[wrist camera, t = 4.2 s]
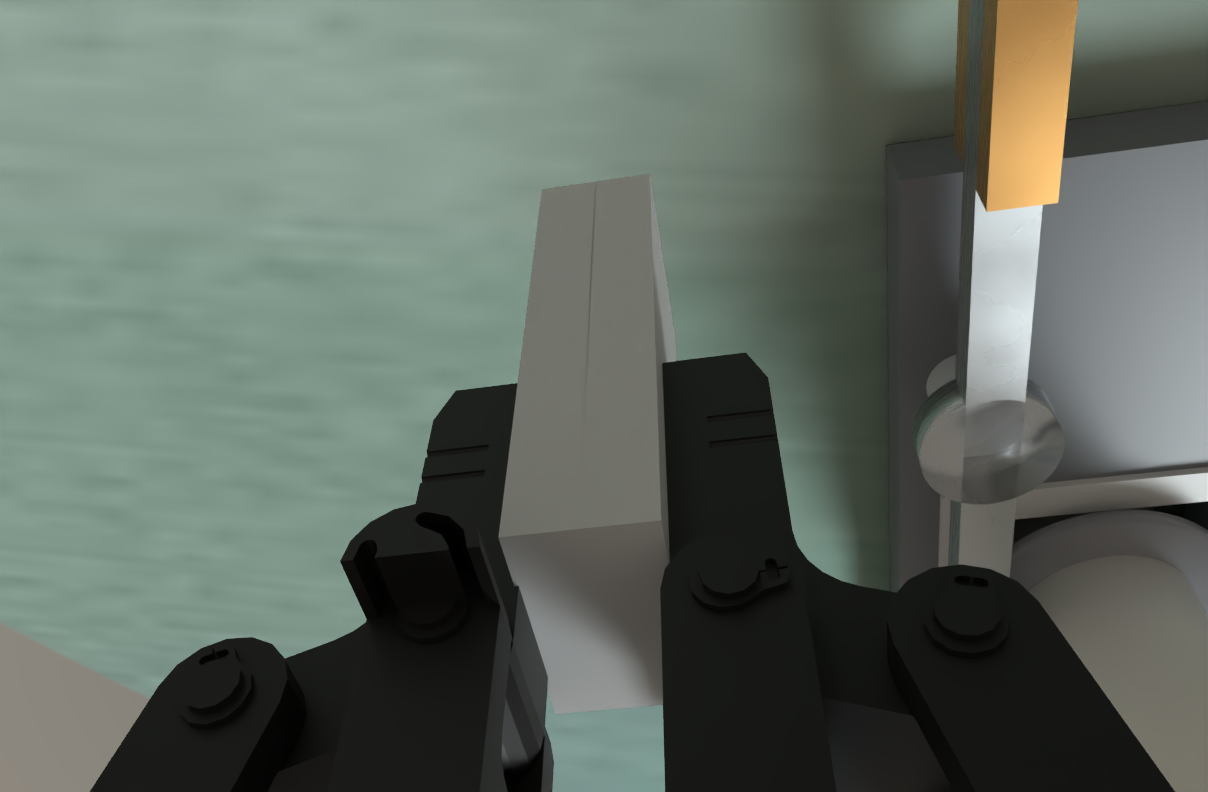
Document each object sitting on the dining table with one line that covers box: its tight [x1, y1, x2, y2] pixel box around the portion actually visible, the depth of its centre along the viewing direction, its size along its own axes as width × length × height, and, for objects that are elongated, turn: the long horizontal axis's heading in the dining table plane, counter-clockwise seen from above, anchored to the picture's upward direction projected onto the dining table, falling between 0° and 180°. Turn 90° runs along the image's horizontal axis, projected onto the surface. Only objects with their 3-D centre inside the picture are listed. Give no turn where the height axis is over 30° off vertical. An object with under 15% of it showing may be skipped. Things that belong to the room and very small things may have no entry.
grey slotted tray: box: [886, 101, 1208, 593], centre depth 30 cm, size 10×26×3 cm, turn 10°
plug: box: [1010, 507, 1208, 792], centre depth 26 cm, size 7×7×13 cm
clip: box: [912, 0, 1078, 578], centre depth 24 cm, size 3×20×3 cm, turn 10°
